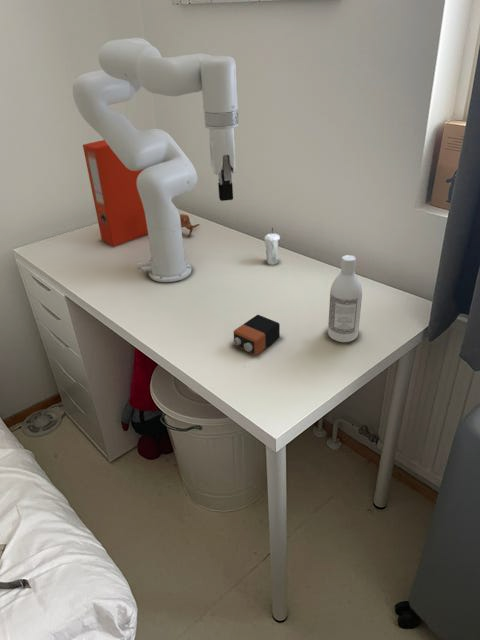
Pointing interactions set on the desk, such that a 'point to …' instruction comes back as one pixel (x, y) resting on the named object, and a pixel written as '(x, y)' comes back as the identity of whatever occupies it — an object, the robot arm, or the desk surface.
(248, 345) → the battery
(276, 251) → the milkshake
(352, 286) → the bath foam
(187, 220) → the cat figurine
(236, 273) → the desk surface
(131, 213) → the file binder
